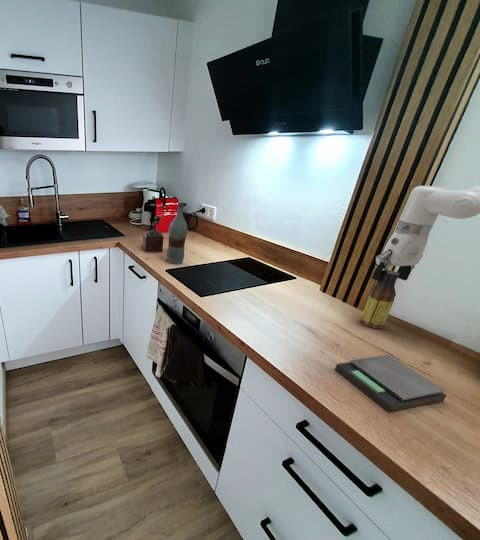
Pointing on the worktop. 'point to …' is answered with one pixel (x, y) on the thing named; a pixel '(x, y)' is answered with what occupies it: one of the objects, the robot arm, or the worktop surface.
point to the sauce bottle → (380, 301)
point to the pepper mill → (153, 239)
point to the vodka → (177, 238)
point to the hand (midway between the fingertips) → (389, 279)
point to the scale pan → (396, 377)
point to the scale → (382, 390)
